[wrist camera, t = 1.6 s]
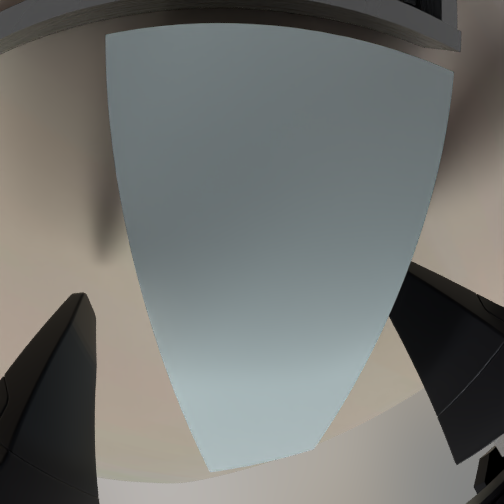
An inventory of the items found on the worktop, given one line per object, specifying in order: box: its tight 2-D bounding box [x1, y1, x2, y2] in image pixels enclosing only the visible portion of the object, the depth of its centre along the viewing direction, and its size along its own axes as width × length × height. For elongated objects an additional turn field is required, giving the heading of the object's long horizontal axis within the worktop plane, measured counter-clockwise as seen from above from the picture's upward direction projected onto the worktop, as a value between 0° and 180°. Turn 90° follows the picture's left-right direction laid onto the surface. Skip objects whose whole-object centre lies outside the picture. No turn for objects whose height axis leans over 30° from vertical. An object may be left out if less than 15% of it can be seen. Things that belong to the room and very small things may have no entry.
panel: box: [106, 23, 454, 472], centre depth 8 cm, size 4×12×5 cm, turn 177°
